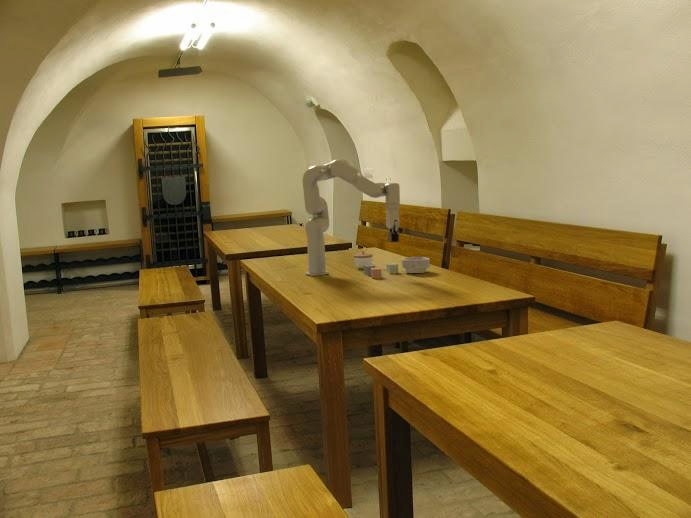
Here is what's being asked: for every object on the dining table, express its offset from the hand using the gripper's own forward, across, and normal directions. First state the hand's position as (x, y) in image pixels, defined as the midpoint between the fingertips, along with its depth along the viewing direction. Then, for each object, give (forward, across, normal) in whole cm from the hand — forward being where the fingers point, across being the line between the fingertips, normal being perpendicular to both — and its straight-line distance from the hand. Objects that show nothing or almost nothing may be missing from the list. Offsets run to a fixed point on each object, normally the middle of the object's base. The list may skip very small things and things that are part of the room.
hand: (393, 240), depth 376 cm
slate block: (+20, -11, -11) cm, 25 cm away
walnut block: (+1, 0, 0) cm, 1 cm away
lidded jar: (+20, -33, -9) cm, 39 cm away
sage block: (+20, -11, +2) cm, 22 cm away
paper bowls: (+20, -6, +14) cm, 25 cm away
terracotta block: (+20, 0, -10) cm, 22 cm away
